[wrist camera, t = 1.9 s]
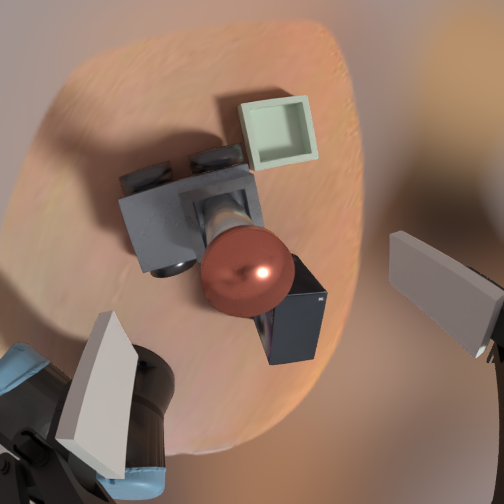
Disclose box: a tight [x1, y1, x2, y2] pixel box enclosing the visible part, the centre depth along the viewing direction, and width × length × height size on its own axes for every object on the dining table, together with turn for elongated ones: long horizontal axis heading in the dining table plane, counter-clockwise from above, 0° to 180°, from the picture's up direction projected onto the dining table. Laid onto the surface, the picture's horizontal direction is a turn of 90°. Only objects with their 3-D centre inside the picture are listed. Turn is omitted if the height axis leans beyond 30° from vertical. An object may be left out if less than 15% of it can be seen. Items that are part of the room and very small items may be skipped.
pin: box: [200, 194, 295, 317], centre depth 21 cm, size 5×5×14 cm
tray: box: [237, 95, 319, 171], centre depth 31 cm, size 8×8×3 cm
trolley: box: [118, 143, 264, 278], centre depth 29 cm, size 14×12×11 cm
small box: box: [254, 256, 328, 365], centre depth 36 cm, size 11×6×10 cm, turn 179°
